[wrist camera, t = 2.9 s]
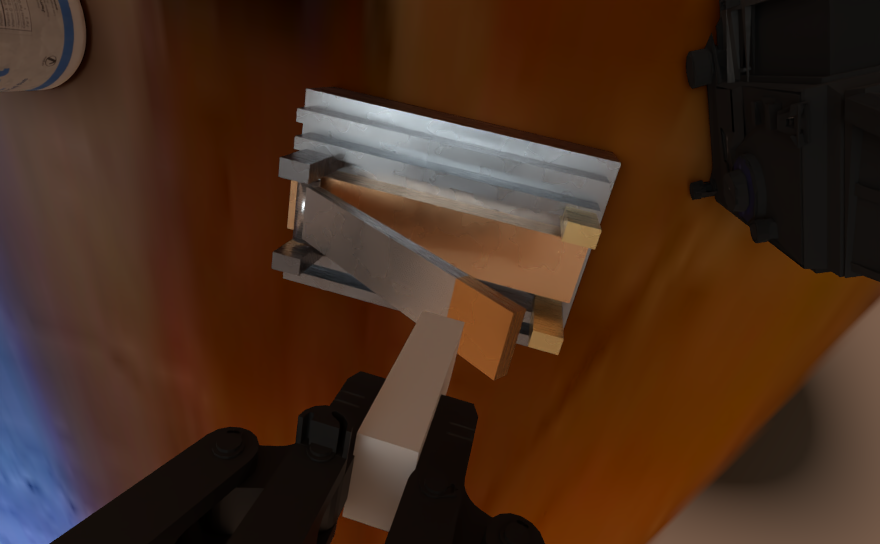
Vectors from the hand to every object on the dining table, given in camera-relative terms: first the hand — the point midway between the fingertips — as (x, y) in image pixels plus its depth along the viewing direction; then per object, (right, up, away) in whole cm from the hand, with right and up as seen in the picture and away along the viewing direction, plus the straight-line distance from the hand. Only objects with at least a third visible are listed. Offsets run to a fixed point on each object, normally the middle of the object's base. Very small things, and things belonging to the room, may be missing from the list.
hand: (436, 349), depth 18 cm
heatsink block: (+1, +7, +16) cm, 18 cm away
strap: (-2, +3, +7) cm, 8 cm away
